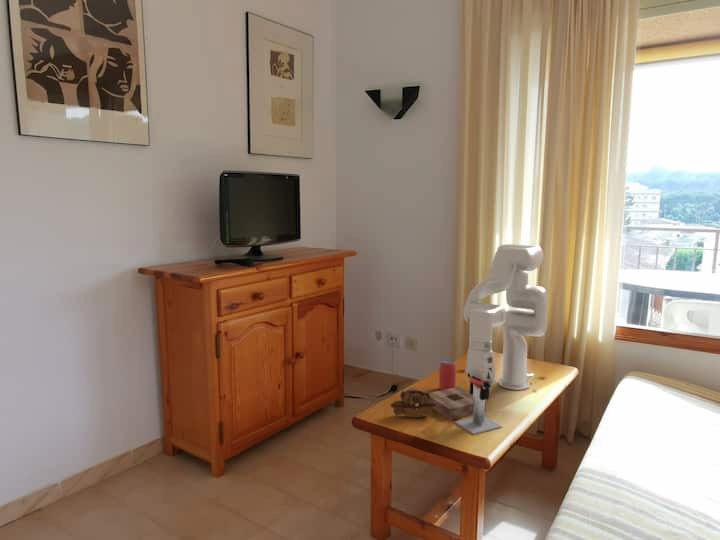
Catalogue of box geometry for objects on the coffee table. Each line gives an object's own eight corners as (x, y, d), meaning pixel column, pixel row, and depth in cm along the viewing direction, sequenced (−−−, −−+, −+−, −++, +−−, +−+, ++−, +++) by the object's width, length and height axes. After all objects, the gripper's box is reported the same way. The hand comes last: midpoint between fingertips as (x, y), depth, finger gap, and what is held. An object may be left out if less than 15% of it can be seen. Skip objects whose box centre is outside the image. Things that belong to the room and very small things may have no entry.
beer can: (455, 393, 206) (455, 364, 205) (438, 392, 208) (439, 363, 206) (455, 387, 213) (456, 359, 211) (439, 386, 214) (439, 358, 212)
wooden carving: (391, 420, 182) (392, 393, 180) (390, 415, 186) (390, 388, 185) (437, 418, 183) (438, 391, 182) (435, 413, 188) (435, 387, 186)
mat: (482, 416, 184) (482, 415, 184) (501, 427, 176) (501, 426, 176) (455, 423, 179) (455, 421, 179) (473, 434, 170) (473, 433, 170)
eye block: (459, 396, 203) (459, 386, 203) (485, 411, 189) (486, 401, 188) (425, 403, 196) (425, 393, 196) (450, 419, 182) (450, 409, 181)
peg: (479, 415, 182) (481, 373, 180) (492, 422, 176) (494, 379, 174) (464, 418, 179) (465, 376, 177) (476, 426, 173) (478, 383, 171)
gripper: (506, 349, 167) (504, 403, 170) (473, 337, 183) (472, 386, 185) (488, 353, 164) (486, 407, 167) (456, 339, 179) (455, 390, 182)
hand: (479, 395), depth 176 cm, fingers closed on peg, 4 cm apart
